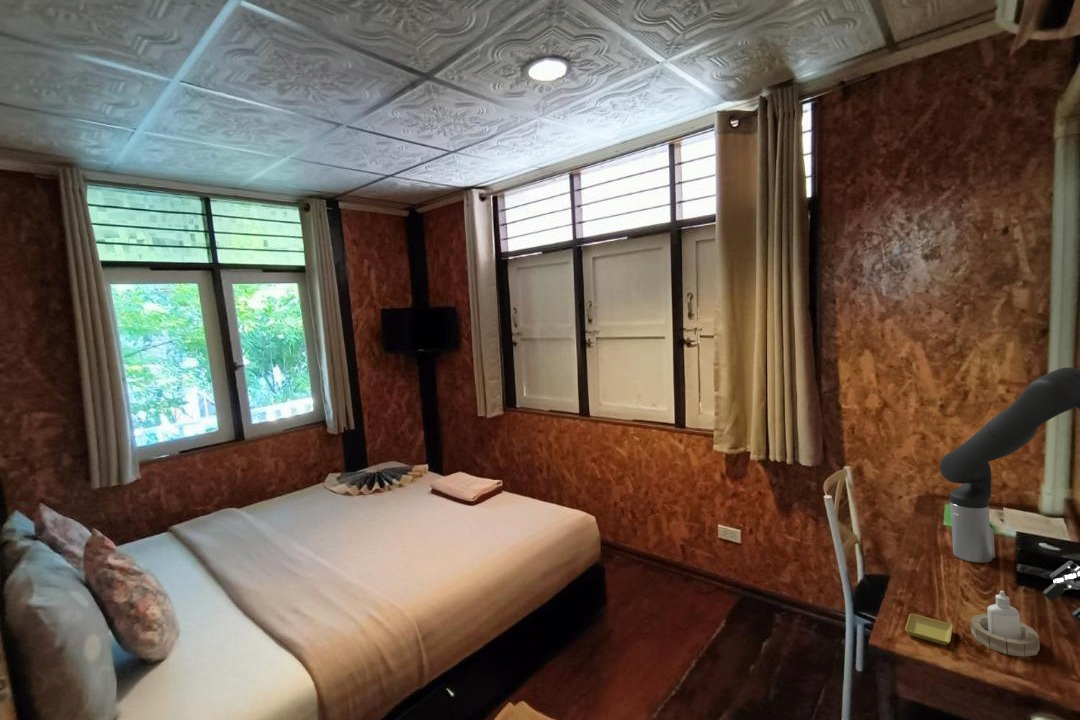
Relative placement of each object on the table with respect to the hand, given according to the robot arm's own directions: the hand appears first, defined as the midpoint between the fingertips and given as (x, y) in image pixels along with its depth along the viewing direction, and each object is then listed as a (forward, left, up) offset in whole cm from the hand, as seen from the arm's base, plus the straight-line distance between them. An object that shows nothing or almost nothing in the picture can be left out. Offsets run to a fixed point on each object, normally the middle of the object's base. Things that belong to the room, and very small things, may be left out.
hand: (1061, 607), depth 112 cm
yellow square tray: (+24, -10, -9) cm, 28 cm away
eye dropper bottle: (+11, -4, -8) cm, 14 cm away
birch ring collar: (+11, -4, -8) cm, 14 cm away
